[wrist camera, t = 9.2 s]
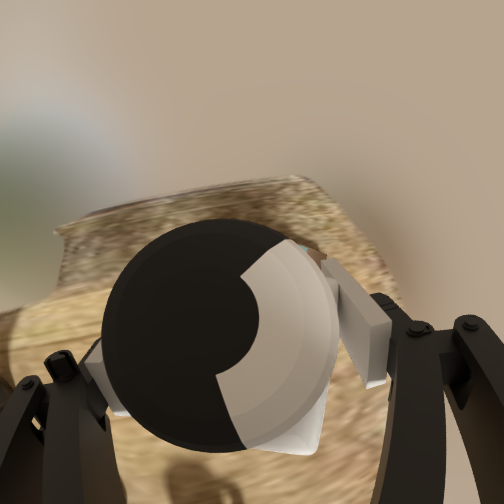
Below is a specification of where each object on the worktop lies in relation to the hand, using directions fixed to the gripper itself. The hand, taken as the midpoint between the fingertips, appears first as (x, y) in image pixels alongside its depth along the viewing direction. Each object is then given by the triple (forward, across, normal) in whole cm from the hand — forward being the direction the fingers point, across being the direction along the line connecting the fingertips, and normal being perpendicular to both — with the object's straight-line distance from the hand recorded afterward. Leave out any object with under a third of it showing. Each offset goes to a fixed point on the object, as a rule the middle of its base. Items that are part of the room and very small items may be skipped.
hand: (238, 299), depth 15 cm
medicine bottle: (+1, 0, -5) cm, 5 cm away
